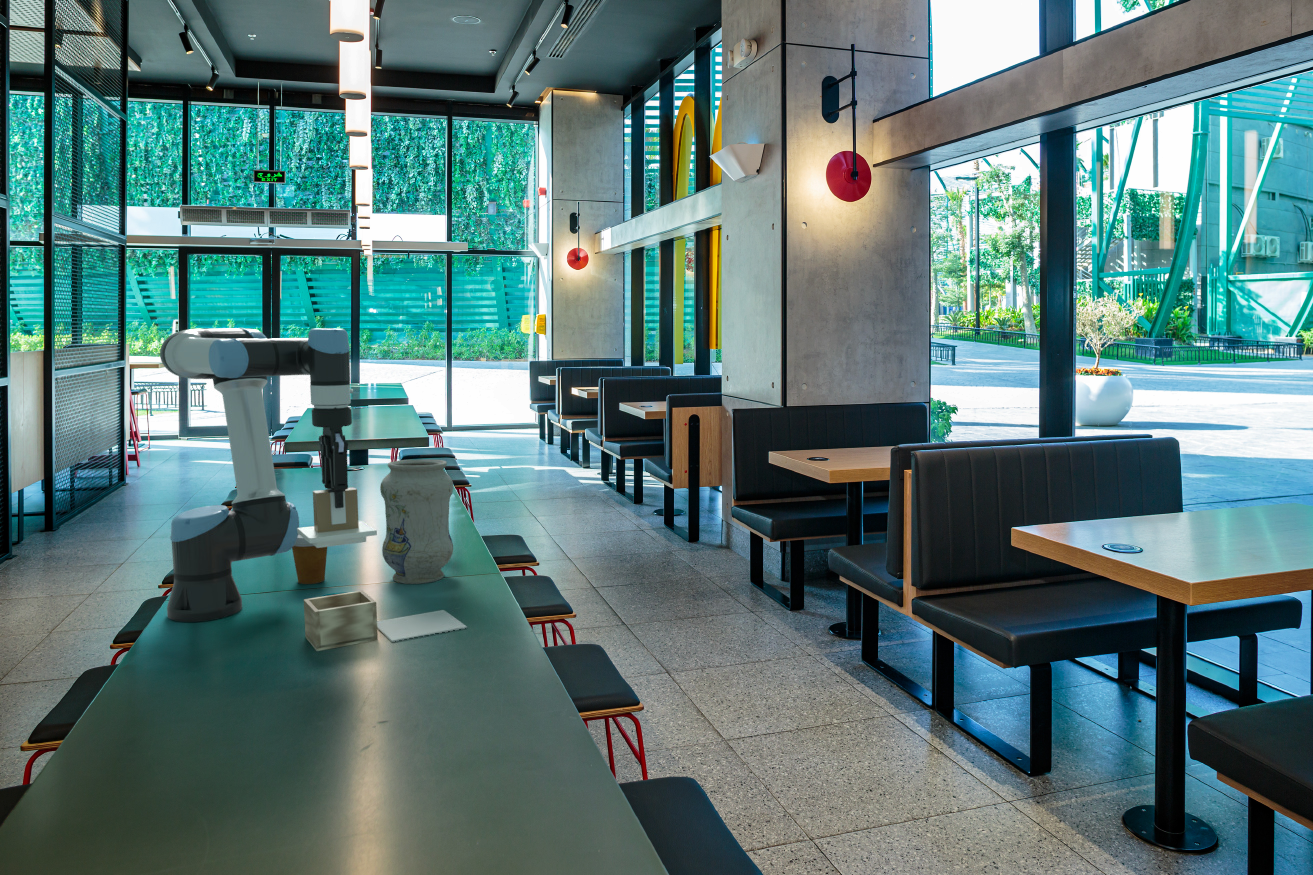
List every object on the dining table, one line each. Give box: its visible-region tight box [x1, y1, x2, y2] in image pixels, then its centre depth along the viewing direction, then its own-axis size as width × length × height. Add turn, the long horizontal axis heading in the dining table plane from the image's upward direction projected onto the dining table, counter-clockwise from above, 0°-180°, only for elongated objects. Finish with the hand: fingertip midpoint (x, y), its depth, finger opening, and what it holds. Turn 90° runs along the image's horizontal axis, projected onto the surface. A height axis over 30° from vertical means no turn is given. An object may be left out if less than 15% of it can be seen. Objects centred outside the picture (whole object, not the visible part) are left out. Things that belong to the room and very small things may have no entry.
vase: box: [379, 458, 454, 585], centre depth 234 cm, size 18×18×30 cm
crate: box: [303, 589, 379, 652], centre depth 188 cm, size 12×10×8 cm
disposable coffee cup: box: [291, 534, 328, 585], centre depth 232 cm, size 10×10×12 cm
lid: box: [297, 487, 378, 548], centre depth 186 cm, size 13×11×10 cm
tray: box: [377, 609, 468, 643], centre depth 197 cm, size 16×14×1 cm
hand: (336, 521), depth 186 cm, fingers closed on lid, 3 cm apart
